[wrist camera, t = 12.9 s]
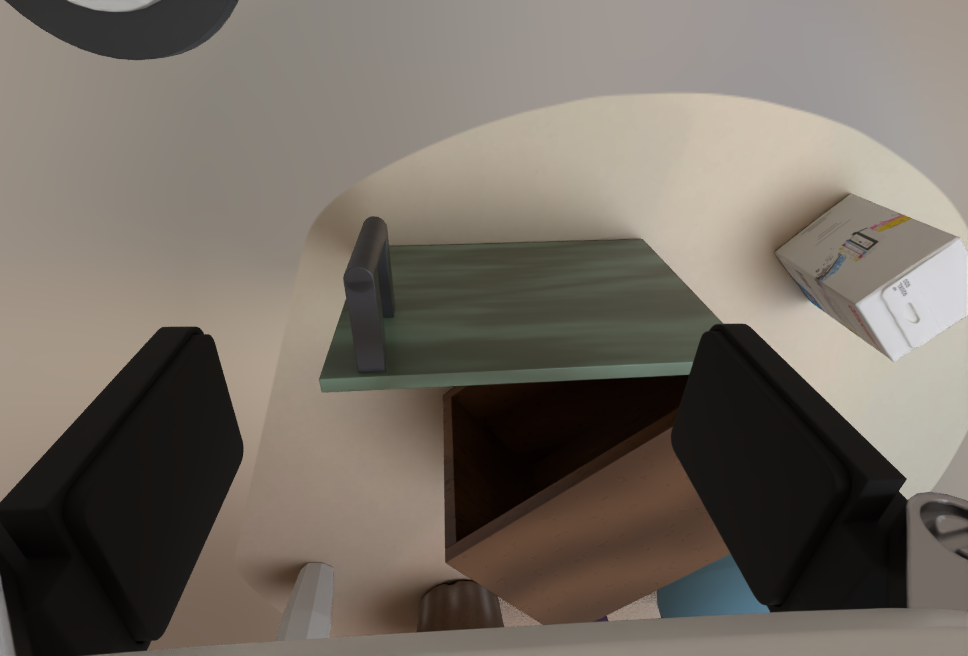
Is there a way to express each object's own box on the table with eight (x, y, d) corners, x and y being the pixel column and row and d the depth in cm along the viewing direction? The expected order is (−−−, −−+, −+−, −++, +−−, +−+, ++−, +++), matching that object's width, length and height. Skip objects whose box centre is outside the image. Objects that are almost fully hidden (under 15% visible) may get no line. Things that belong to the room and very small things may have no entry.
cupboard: (442, 395, 56) (444, 563, 39) (645, 248, 49) (761, 374, 31) (528, 468, 63) (562, 637, 46) (716, 349, 56) (843, 498, 38)
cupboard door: (353, 172, 43) (295, 271, 25) (655, 166, 44) (792, 255, 27) (364, 257, 47) (321, 392, 29) (641, 248, 48) (752, 372, 31)
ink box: (885, 248, 51) (996, 303, 41) (809, 302, 53) (894, 367, 43) (852, 189, 47) (963, 234, 37) (771, 251, 50) (855, 307, 40)
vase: (634, 594, 80) (706, 802, 58) (654, 526, 71) (747, 741, 50) (734, 586, 81) (841, 788, 60) (765, 519, 72) (902, 726, 51)
